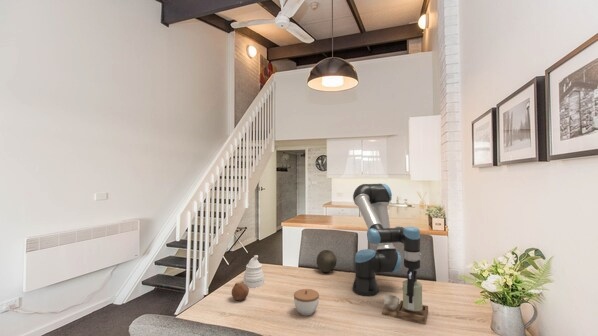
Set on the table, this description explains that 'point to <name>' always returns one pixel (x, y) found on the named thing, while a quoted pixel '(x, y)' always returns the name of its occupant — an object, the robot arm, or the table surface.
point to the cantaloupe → (326, 260)
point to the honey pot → (254, 273)
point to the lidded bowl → (306, 301)
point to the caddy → (403, 310)
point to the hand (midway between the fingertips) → (412, 304)
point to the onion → (240, 291)
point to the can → (416, 294)
